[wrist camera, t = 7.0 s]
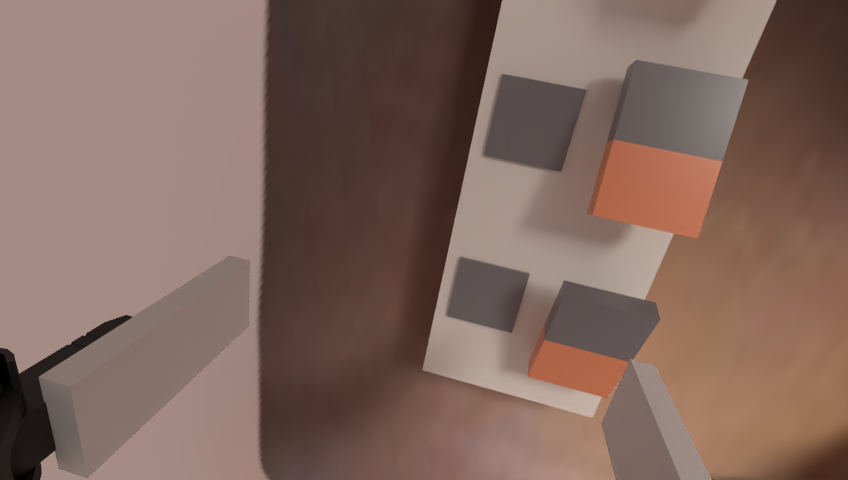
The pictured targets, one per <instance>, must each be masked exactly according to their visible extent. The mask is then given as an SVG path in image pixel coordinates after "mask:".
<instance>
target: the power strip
mask: <svg viewBox="0 0 848 480" xmlns="http://www.w3.org/2000/svg"><path fill="white" fill-rule="evenodd" d="M776 1H777V0H502V3H501V8H500V13H499V17H498V22H497V27H496V31H495V36H494V40H493V45H492V50H491V54H490V59H489V64H488V68H487V73H486V78H485V82H484V87H483V91H482V96H481V101H480V105H479V110H478V115H477V119H476V124H475V129H474V133H473V138H472V143H471V147H470V152H469V156H468V161H467V166H466V170H465V175H464V180H463V184H462V189H461V194H460V198H459V203H458V207H457V212H456V217H455V221H454V226H453V231H452V235H451V240H450V245H449V249H448V254H447V258H446V263H445V268H444V272H443V277H442V282H441V286H440V291H439V296H438V300H437V305H436V310H435V314H434V319H433V323H432V328H431V333H430V337H429V342H428V347H427V351H426V356H425V361H424V365H423V370H424V371H427V372H431V373H434V374H438V375H441V376H445V377H449V378H452V379H456V380H459V381H463V382H466V383H470V384H474V385H477V386H481V387H484V388H488V389H491V390H495V391H498V392H502V393H506V394H509V395H513V396H516V397H520V398H523V399H527V400H531V401H534V402H538V403H541V404H545V405H548V406H552V407H556V408H559V409H563V410H566V411H570V412H573V413H577V414H581V415H584V416H588V417H591V418H593V416H594V414H595V411H596V409H597V407H598V405H599V402H600V400H601V398H602V397H600V396H596V395H593V394H589V393H586V392H582V391H578V390H575V389H571V388H567V387H564V386H560V385H556V384H553V383H549V382H545V381H542V380H538V379H534V378H531V377H528V363H529V359H530V357H531V355H532V352H533V350H534V348H535V345H536V343H537V341H538V338H539V336H540V334H541V332H542V329H543V327H544V325H545V322H546V320H547V318H548V316H549V313H550V311H551V309H552V306H553V304H554V302H555V300H556V297H557V295H558V293H559V290H560V288H561V286H562V284H563V281H564V280H565V281H569V282H573V283H577V284H581V285H585V286H590V287H594V288H598V289H602V290H606V291H610V292H614V293H618V294H622V295H626V296H630V297H635V298H639V299H643V300H645V298H646V296H647V293H648V291H649V289H650V287H651V284H652V282H653V280H654V278H655V275H656V273H657V271H658V268H659V266H660V264H661V262H662V259H663V257H664V255H665V253H666V250H667V248H668V246H669V244H670V241H671V239H672V237H673V234H674V233H669V232H665V231H660V230H656V229H651V228H647V227H642V226H638V225H633V224H629V223H625V222H620V221H616V220H611V219H607V218H602V217H598V216H593V215H589V214H587V212H588V208H589V204H590V201H591V197H592V194H593V190H594V186H595V183H596V179H597V176H598V172H599V168H600V165H601V161H602V158H603V154H604V150H605V147H606V143H607V140H608V136H609V132H610V129H611V125H612V122H613V118H614V115H615V111H616V107H617V104H618V100H619V97H620V93H621V89H622V86H623V82H624V79H625V75H626V71H627V68H628V67H629V66H630V65H631V64H632V63H633V62H634V61H635V60H641V61H646V62H652V63H657V64H663V65H668V66H674V67H680V68H685V69H691V70H696V71H702V72H708V73H713V74H719V75H724V76H730V77H736V78H741V79H742V78H743V76H744V73H745V71H746V69H747V67H748V64H749V62H750V60H751V57H752V55H753V53H754V51H755V48H756V46H757V44H758V42H759V39H760V37H761V35H762V33H763V30H764V28H765V26H766V23H767V21H768V19H769V17H770V14H771V12H772V10H773V8H774V5H775V3H776Z"/></svg>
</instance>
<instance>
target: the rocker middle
mask: <svg viewBox="0 0 848 480" xmlns="http://www.w3.org/2000/svg"><path fill="white" fill-rule="evenodd" d="M747 83H748V80H747V79H741V78H736V77H730V76H724V75H719V74H713V73H708V72H702V71H696V70H691V69H685V68H680V67H674V66H668V65H663V64H657V63H652V62H646V61H641V60H635V61H634V62H633V63H632V64H631V65H630V66H629V67H628V68H627V71H626V75H625V79H624V82H623V86H622V89H621V93H620V97H619V100H618V104H617V107H616V111H615V115H614V118H613V122H612V125H611V129H610V132H609V136H608V140H607V143H606V147H605V150H604V154H603V158H602V161H601V165H600V168H599V172H598V176H597V179H596V183H595V186H594V190H593V194H592V197H591V201H590V204H589V208H588V212H587V214H589V215H593V216H598V217H602V218H607V219H611V220H616V221H620V222H625V223H629V224H633V225H638V226H642V227H647V228H651V229H656V230H660V231H665V232H669V233H674V234H678V235H683V236H687V237H691V238H696V239H698V237H699V234H700V230H701V227H702V224H703V221H704V218H705V215H706V212H707V209H708V205H709V202H710V199H711V196H712V193H713V190H714V187H715V183H716V180H717V177H718V174H719V171H720V168H721V165H722V162H723V158H724V155H725V152H726V149H727V146H728V143H729V140H730V137H731V133H732V130H733V127H734V124H735V121H736V118H737V115H738V111H739V108H740V105H741V102H742V99H743V96H744V93H745V90H746V86H747Z"/></svg>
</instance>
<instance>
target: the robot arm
mask: <svg viewBox="0 0 848 480" xmlns="http://www.w3.org/2000/svg"><path fill="white" fill-rule="evenodd" d="M249 266H250V261H248V260H244V259H240V258H236V257H232V256H229V257H227V258H225V259H224V260H222V261H221V262H219V263H218V264H216V265H214V266H213V267H211V268H210V269H208V270H207V271H205V272H203V273H202V274H201V275H199V276H197V277H195V278H194V279H192V280H191V281H189V282H188V283H186V284H184V285H183V286H181V287H180V288H178V289H177V290H175V291H173V292H172V293H170V294H169V295H167V296H165V297H164V298H162V299H161V300H159V301H158V302H156V303H154V304H153V305H151V306H150V307H148V308H147V309H145V310H143V311H142V312H140V313H139V314H137V315H135V316H134V317H131V316H127V315H125V316H122V317H119V318H116V319H113V320H110V321H107V322H105V323H103V324H101V325H100V326H98V327H96V328H95V329H93V330H91V331H90V332H88V333H87V334H86V336H81V337H80V338H78V339H76V340H75V341H73V342H72V343H71V345H66V346H65V347H63V348H61V349H60V350H58V351H56V352H55V353H53V354H51V355H50V356H48V357H47V358H45V359H43V360H42V361H40V362H38V363H37V364H35V365H33V366H31V367H30V368H28V369H27V370H25V371H23V372H22V373H20V374H19V373H18V369H17V365H16V361H15V357H14V354H13V353H12V352H10V351H9V350H8V349H3V348H0V480H40V478H41V474H42V473H41V463H40V462H41V461H43V460H44V459H45V458H46V457H48V456H49V455H50V454H51V453H52V452H54V451H55V453H56V458H57V462H58V466H59V469H62V470H65V471H68V472H71V473H74V474H77V475H80V476H83V477H86V478H88V477H89V476H90V475H91V474H92V473H93V472H94V471H95V470H96V469H97V468H98V467H99V466H101V465H102V464H103V463H104V462H105V461H106V460H107V459H108V458H109V457H110V456H111V455H112V454H113V453H114V452H115V451H116V450H118V448H120V447H121V446H122V445H123V444H124V443H125V442H126V441H127V440H128V439H129V438H130V437H131V436H132V435H133V434H135V433H136V432H137V431H138V430H139V429H140V428H141V427H142V426H143V425H144V424H145V423H146V422H147V421H148V420H149V419H150V418H151V417H153V416H154V415H155V414H156V413H157V412H158V411H159V410H160V409H161V408H162V407H163V406H164V405H165V404H166V403H167V402H168V401H169V400H171V399H172V398H173V397H174V396H175V395H176V394H177V393H178V392H179V391H180V390H181V389H182V388H183V387H184V386H185V385H186V384H188V383H189V382H190V381H191V380H192V379H193V378H194V377H195V376H196V375H197V374H198V373H199V372H200V371H201V370H202V369H203V368H204V367H206V365H208V364H209V363H210V362H211V361H212V360H213V359H214V358H215V357H216V356H217V355H218V354H219V353H220V352H221V351H222V350H224V349H225V348H226V346H228V345H229V344H230V343H231V342H232V341H233V340H234V339H235V338H236V337H237V336H238V335H239V334H240V333H241V332H242V331H244V330H245V329H246V328H247V327H248V325H249ZM602 427H603V431H604V435H605V439H606V443H607V447H608V451H609V455H610V459H611V463H612V467H613V470H614V474H615V478H616V480H712V479H711V478H710V476H709V474H708V472H707V470H706V467H705V465H704V463H703V461H702V459H701V457H700V455H699V453H698V451H697V449H696V447H695V445H694V443H693V441H692V439H691V437H690V435H689V433H688V431H687V429H686V427H685V425H684V423H683V421H682V419H681V417H680V415H679V413H678V411H677V409H676V407H675V405H674V403H673V400H672V398H671V396H670V394H669V392H668V390H667V388H666V386H665V384H664V382H663V380H662V378H661V376H660V374H659V372H658V370H657V368H656V366H655V365H652V364H648V363H644V362H640V361H636V360H633V359H630V361H629V363H628V365H627V368H626V370H625V372H624V374H623V377H622V379H621V381H620V383H619V385H618V388H617V390H616V392H615V394H614V397H613V399H612V401H611V403H610V406H609V408H608V410H607V412H606V414H605V417H604V419H603V421H602Z"/></svg>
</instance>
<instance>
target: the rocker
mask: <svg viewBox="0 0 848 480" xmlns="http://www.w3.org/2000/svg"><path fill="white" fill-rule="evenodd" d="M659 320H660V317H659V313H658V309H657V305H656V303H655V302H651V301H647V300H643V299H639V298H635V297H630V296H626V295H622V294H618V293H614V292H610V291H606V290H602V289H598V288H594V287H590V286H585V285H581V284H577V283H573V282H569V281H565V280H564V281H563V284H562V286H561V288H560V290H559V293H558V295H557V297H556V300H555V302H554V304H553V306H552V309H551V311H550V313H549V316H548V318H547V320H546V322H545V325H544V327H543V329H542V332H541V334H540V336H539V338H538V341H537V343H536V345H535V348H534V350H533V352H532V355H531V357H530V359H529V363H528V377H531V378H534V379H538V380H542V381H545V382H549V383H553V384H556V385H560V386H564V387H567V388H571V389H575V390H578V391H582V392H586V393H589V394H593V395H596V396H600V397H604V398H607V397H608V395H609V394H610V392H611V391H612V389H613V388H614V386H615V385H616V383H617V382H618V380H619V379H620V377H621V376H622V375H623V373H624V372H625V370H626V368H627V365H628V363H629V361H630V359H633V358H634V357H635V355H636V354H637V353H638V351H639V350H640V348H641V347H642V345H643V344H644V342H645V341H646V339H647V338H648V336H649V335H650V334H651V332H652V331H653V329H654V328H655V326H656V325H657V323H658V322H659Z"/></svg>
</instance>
